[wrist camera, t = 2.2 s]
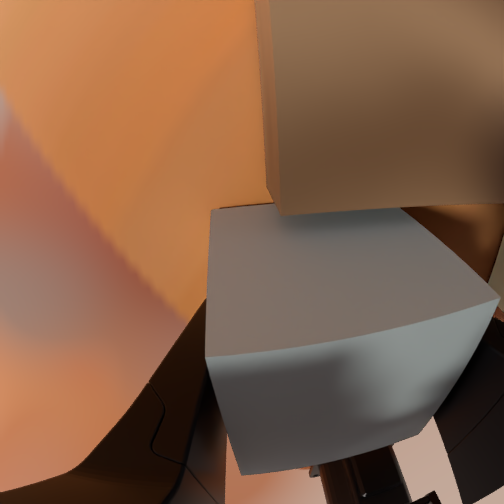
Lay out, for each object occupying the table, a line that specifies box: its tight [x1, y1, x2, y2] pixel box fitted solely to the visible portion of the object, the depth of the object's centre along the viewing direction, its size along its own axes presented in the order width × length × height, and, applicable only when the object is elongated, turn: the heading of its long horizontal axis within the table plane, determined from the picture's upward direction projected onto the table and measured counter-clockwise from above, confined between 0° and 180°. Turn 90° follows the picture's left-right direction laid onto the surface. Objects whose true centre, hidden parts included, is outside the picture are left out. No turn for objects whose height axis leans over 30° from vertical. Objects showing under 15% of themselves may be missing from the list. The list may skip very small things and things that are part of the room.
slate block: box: [205, 204, 501, 475], centre depth 7 cm, size 5×5×5 cm
